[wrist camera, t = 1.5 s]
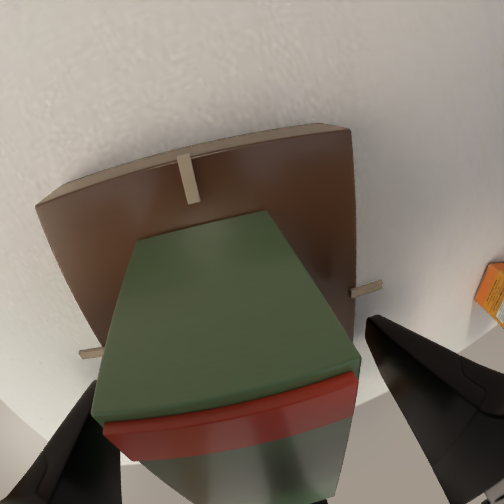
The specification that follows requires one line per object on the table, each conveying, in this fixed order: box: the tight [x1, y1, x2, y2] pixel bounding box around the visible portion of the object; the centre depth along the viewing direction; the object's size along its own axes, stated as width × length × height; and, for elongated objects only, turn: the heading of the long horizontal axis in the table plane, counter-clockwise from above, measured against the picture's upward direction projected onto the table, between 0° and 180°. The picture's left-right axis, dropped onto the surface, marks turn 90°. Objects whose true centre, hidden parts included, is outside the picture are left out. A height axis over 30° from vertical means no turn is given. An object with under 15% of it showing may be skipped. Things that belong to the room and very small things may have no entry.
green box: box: [91, 210, 361, 504], centre depth 8 cm, size 8×4×6 cm, turn 10°
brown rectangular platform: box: [35, 123, 383, 359], centre depth 12 cm, size 12×12×3 cm
